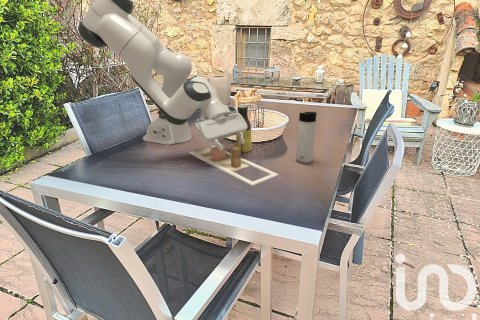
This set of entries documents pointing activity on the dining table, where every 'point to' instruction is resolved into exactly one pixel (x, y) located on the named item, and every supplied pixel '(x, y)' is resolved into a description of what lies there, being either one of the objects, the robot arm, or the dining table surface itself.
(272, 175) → the guide rails
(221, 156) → the terracotta block
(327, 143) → the dining table surface
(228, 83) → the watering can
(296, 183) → the dining table surface
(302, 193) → the dining table surface
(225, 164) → the pale strip
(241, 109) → the sauce bottle
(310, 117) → the travel mug
